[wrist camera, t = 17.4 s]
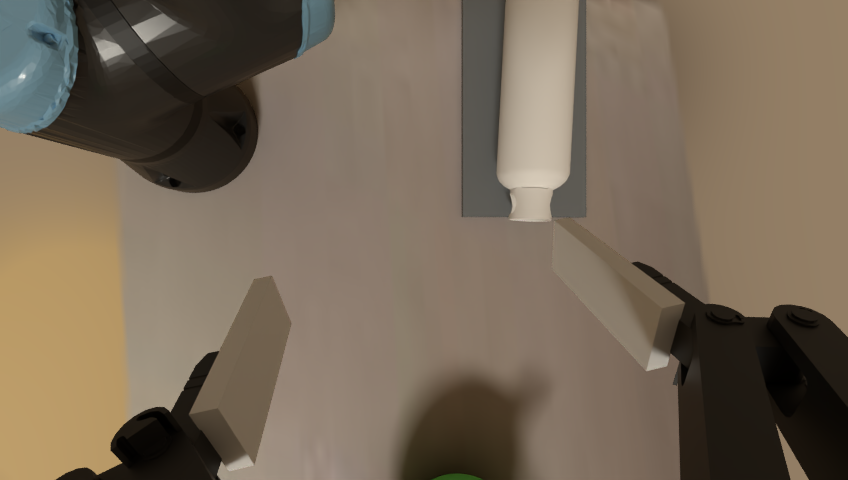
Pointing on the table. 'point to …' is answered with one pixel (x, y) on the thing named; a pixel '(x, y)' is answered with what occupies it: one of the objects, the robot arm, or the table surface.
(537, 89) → the bottle
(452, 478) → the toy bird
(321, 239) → the table surface
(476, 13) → the mat
